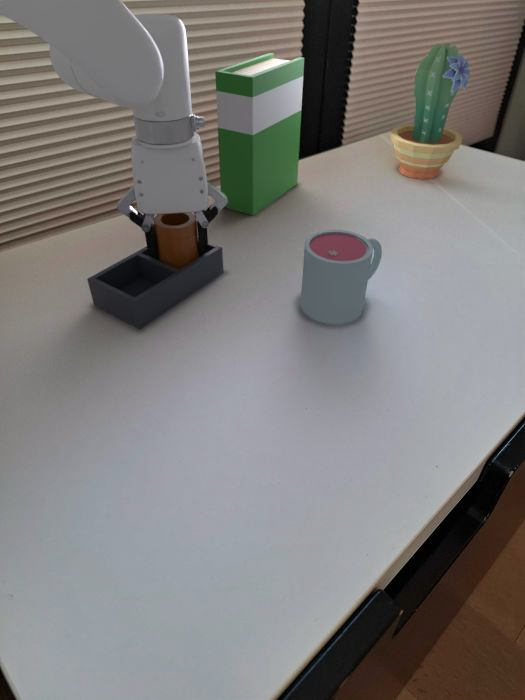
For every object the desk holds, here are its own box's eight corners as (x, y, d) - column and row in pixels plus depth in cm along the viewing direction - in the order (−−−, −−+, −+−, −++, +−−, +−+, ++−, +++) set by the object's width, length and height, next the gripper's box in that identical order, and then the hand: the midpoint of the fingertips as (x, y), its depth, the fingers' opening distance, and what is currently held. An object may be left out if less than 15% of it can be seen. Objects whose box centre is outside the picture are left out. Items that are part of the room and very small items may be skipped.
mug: (329, 332, 70) (337, 271, 64) (288, 301, 76) (291, 241, 70) (397, 299, 77) (410, 240, 70) (354, 272, 82) (362, 215, 76)
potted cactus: (389, 184, 109) (413, 51, 93) (379, 157, 121) (399, 36, 105) (461, 185, 109) (498, 53, 93) (444, 159, 121) (474, 37, 104)
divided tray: (94, 306, 75) (87, 278, 72) (179, 255, 86) (176, 229, 83) (139, 330, 70) (134, 302, 67) (223, 273, 82) (222, 246, 79)
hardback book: (267, 176, 112) (269, 52, 96) (297, 184, 109) (304, 57, 93) (221, 206, 100) (215, 71, 85) (252, 215, 97) (252, 77, 82)
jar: (152, 273, 80) (144, 220, 74) (179, 257, 84) (173, 205, 78) (181, 286, 77) (175, 232, 71) (208, 269, 81) (204, 216, 75)
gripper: (227, 116, 70) (231, 234, 82) (98, 121, 68) (122, 241, 80) (233, 134, 64) (237, 258, 76) (93, 141, 62) (119, 266, 74)
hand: (178, 248), depth 78 cm, fingers open, 6 cm apart
